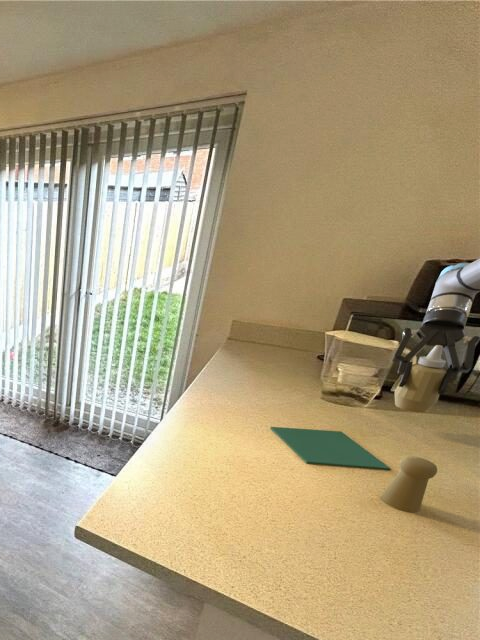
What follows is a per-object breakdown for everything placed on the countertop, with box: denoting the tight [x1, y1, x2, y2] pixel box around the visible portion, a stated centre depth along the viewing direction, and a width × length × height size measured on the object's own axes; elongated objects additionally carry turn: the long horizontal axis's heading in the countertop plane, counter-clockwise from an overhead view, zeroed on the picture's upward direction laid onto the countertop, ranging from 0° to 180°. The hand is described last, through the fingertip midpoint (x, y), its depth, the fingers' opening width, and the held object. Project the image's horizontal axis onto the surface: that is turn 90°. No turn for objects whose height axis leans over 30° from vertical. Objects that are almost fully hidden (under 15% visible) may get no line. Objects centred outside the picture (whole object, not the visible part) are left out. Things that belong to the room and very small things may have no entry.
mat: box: [270, 426, 391, 471], centre depth 105 cm, size 18×18×1 cm
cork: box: [379, 455, 438, 513], centre depth 83 cm, size 6×6×11 cm
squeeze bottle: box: [394, 345, 447, 413], centre depth 104 cm, size 8×8×18 cm
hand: (421, 388), depth 102 cm, fingers closed on squeeze bottle, 6 cm apart
